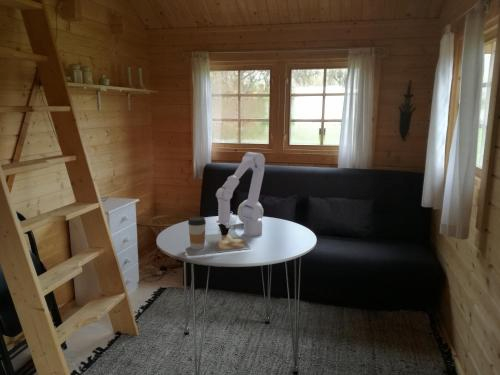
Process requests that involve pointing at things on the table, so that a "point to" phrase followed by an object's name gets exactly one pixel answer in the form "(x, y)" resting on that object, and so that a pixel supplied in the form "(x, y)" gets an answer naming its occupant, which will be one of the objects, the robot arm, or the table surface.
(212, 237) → the slate board
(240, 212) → the puzzle ball
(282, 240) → the table surface
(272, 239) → the table surface
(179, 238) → the table surface
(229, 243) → the t block
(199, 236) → the coffee cup
